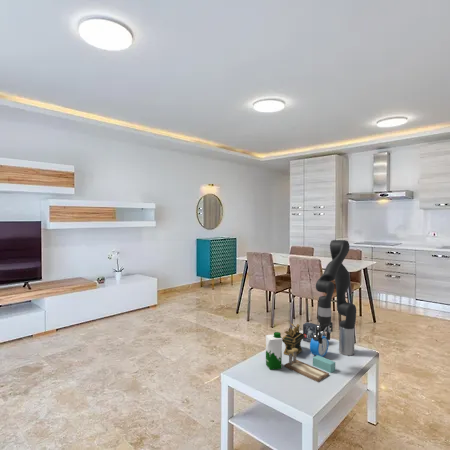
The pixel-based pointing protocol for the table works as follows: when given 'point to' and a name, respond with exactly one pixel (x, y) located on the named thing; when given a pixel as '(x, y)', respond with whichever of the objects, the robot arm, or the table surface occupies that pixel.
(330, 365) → the teal rectangular prism
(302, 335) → the decorative box
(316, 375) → the board
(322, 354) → the alarm clock
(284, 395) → the table surface
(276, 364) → the milk carton
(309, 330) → the small box
